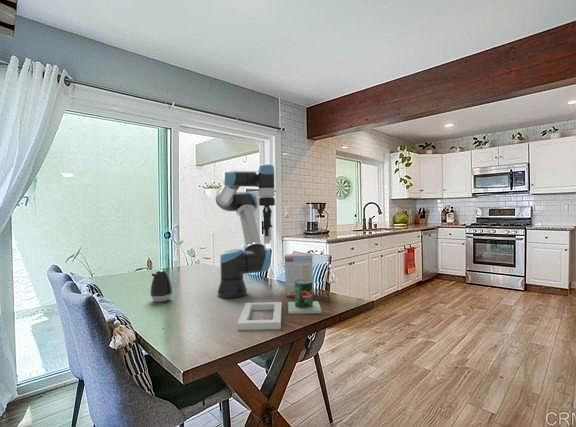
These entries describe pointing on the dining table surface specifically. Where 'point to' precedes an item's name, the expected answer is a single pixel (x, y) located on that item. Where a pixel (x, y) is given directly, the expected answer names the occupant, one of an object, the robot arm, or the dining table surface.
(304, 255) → the cracker box
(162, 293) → the pump dispenser
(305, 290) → the canned tomato
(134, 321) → the dining table surface
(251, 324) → the frame
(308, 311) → the tile
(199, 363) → the dining table surface
